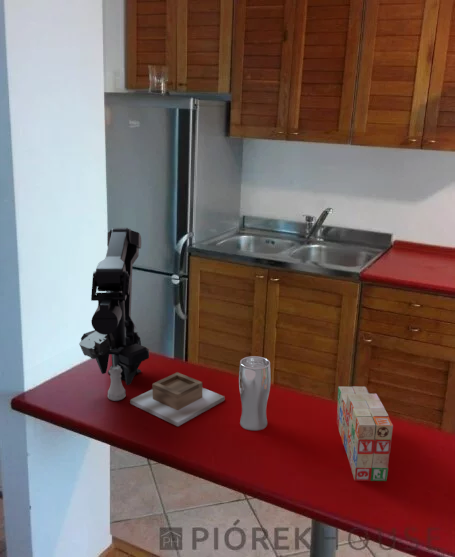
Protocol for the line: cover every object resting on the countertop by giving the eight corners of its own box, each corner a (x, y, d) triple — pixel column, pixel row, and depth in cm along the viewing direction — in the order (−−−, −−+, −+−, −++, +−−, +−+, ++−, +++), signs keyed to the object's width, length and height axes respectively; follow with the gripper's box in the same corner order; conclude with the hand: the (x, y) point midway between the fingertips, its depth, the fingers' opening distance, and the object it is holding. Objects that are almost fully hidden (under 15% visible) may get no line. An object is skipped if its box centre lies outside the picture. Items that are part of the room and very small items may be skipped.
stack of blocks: (335, 423, 129) (339, 373, 126) (363, 423, 129) (367, 373, 126) (354, 481, 109) (359, 424, 105) (387, 482, 109) (393, 424, 105)
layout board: (130, 403, 137) (129, 384, 136) (177, 380, 149) (177, 363, 147) (177, 426, 127) (177, 406, 126) (224, 400, 139) (224, 381, 138)
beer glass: (275, 423, 129) (277, 362, 125) (255, 435, 124) (257, 372, 120) (252, 412, 133) (253, 353, 129) (231, 423, 128) (232, 362, 124)
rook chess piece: (117, 403, 137) (115, 372, 135) (103, 398, 139) (101, 368, 137) (129, 395, 141) (128, 366, 139) (116, 391, 143) (114, 361, 141)
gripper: (60, 318, 134) (64, 378, 139) (110, 338, 123) (114, 403, 127) (98, 306, 143) (101, 364, 147) (149, 324, 131) (151, 386, 135)
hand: (115, 378), depth 139 cm, fingers open, 9 cm apart
